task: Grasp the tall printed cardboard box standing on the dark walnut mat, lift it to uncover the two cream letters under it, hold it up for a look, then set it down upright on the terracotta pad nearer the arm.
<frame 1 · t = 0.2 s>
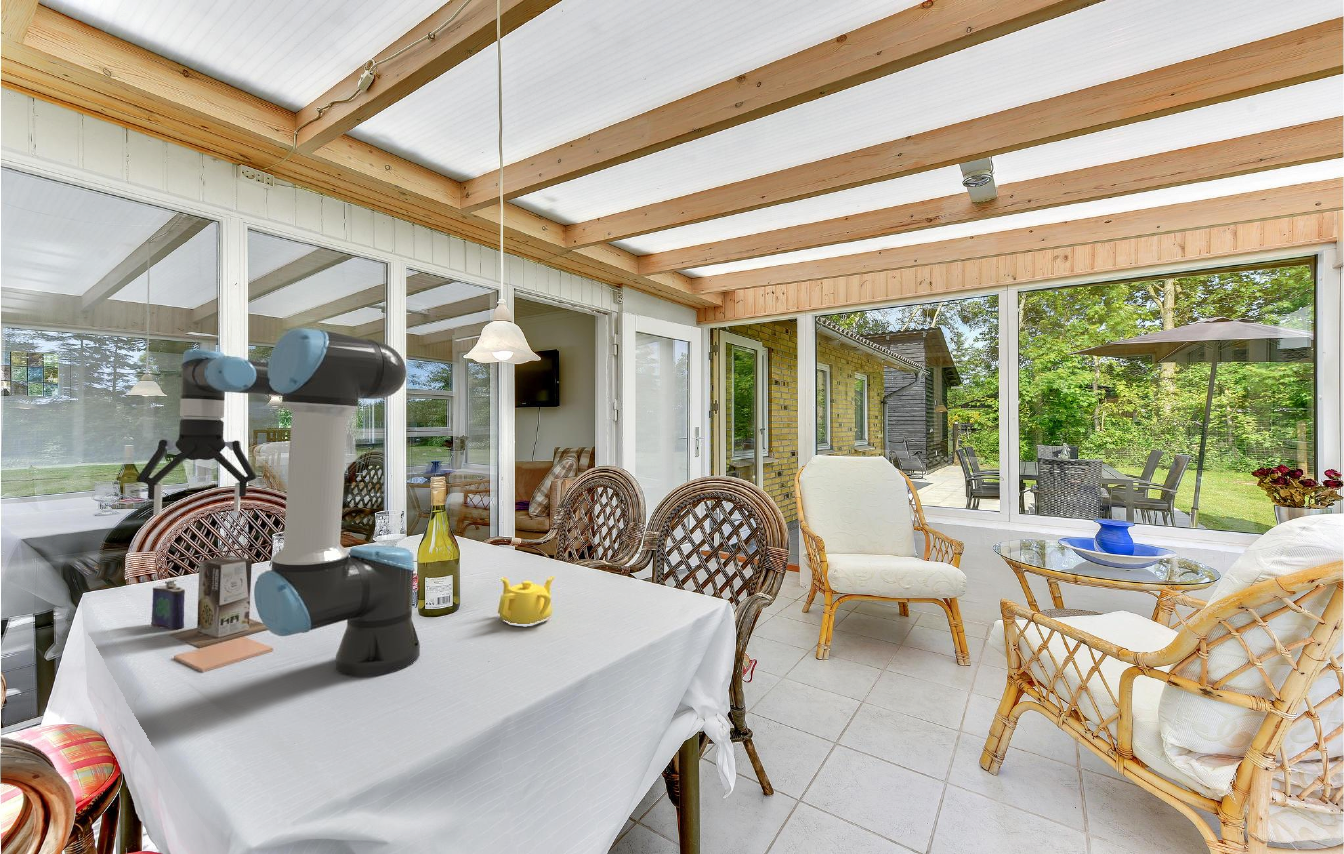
hand: (198, 512, 121), 27 cm above the table, tool pointing down, fingers open, 13 cm apart
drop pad: (224, 654, 110), on the table
code mat: (223, 631, 122), on the table
flask: (168, 627, 125), on the table
teapot: (525, 620, 136), on the table
printed cardboard box: (223, 631, 122), resting on code mat
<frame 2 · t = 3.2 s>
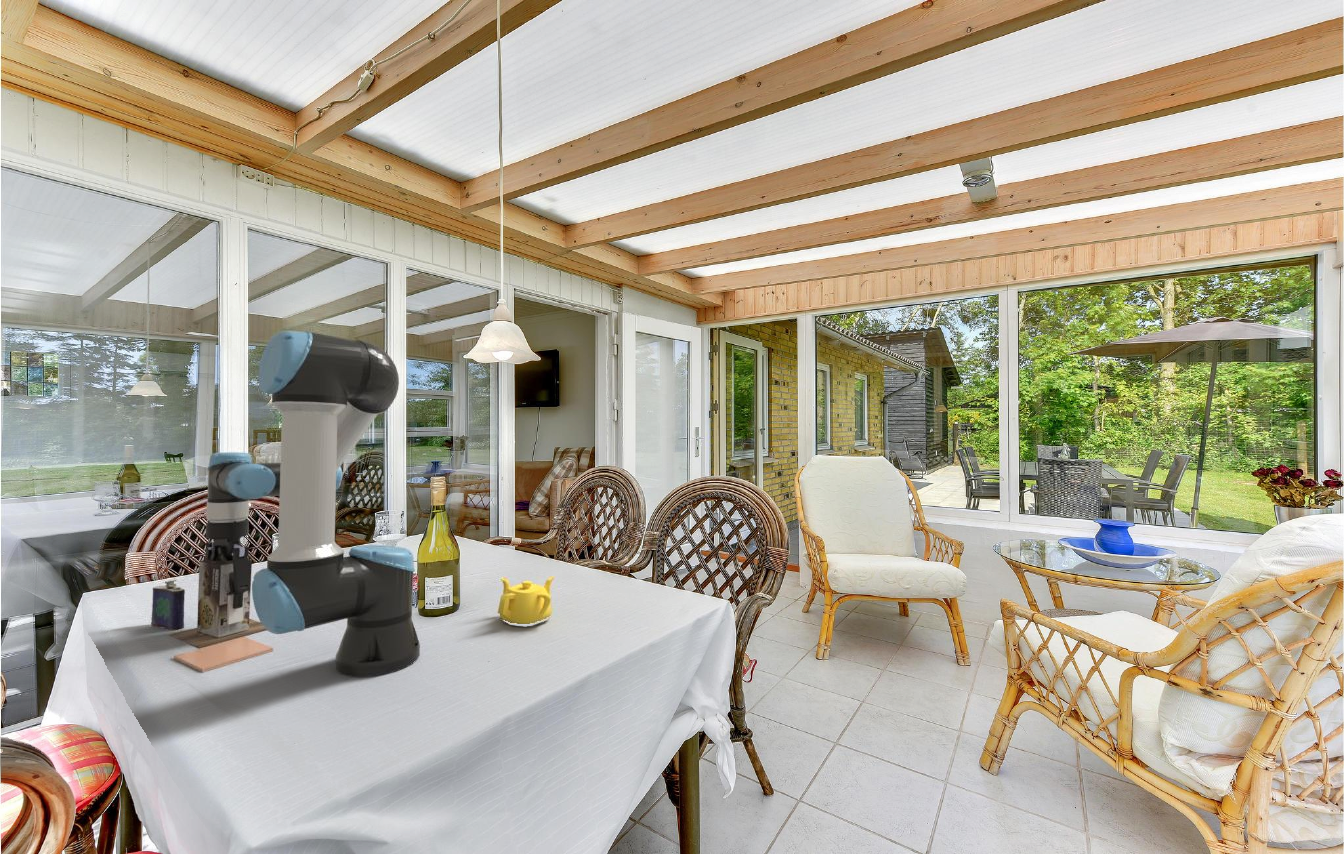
hand: (223, 618, 122), 3 cm above the table, tool pointing down, fingers closed on printed cardboard box, 9 cm apart
printed cardboard box: (223, 631, 122), resting on code mat, touching gripper
everything else where it was.
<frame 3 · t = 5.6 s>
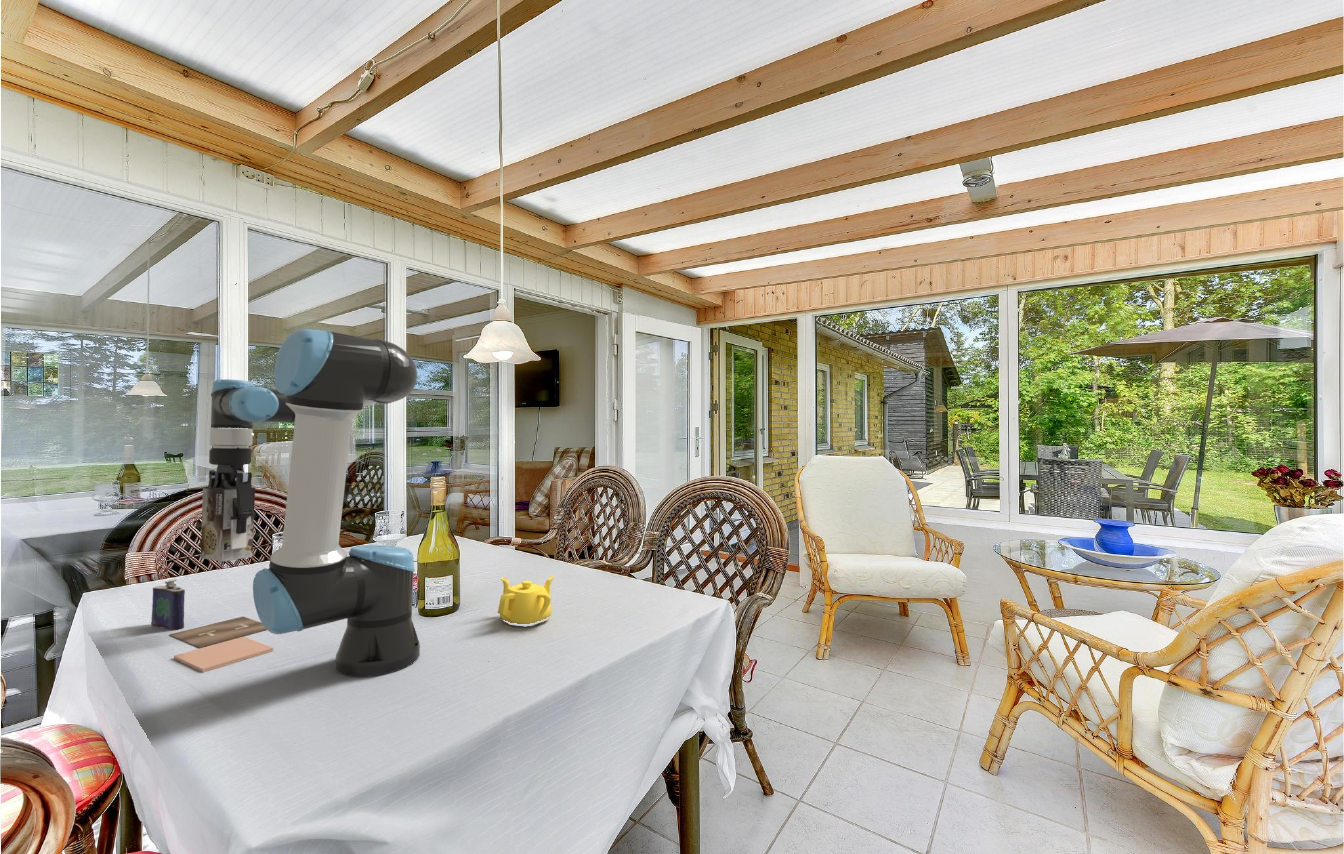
hand: (227, 545, 123), 20 cm above the table, tool pointing down, fingers closed on printed cardboard box, 9 cm apart
printed cardboard box: (226, 558, 122), point 17 cm above the table, touching gripper
everything else where it was.
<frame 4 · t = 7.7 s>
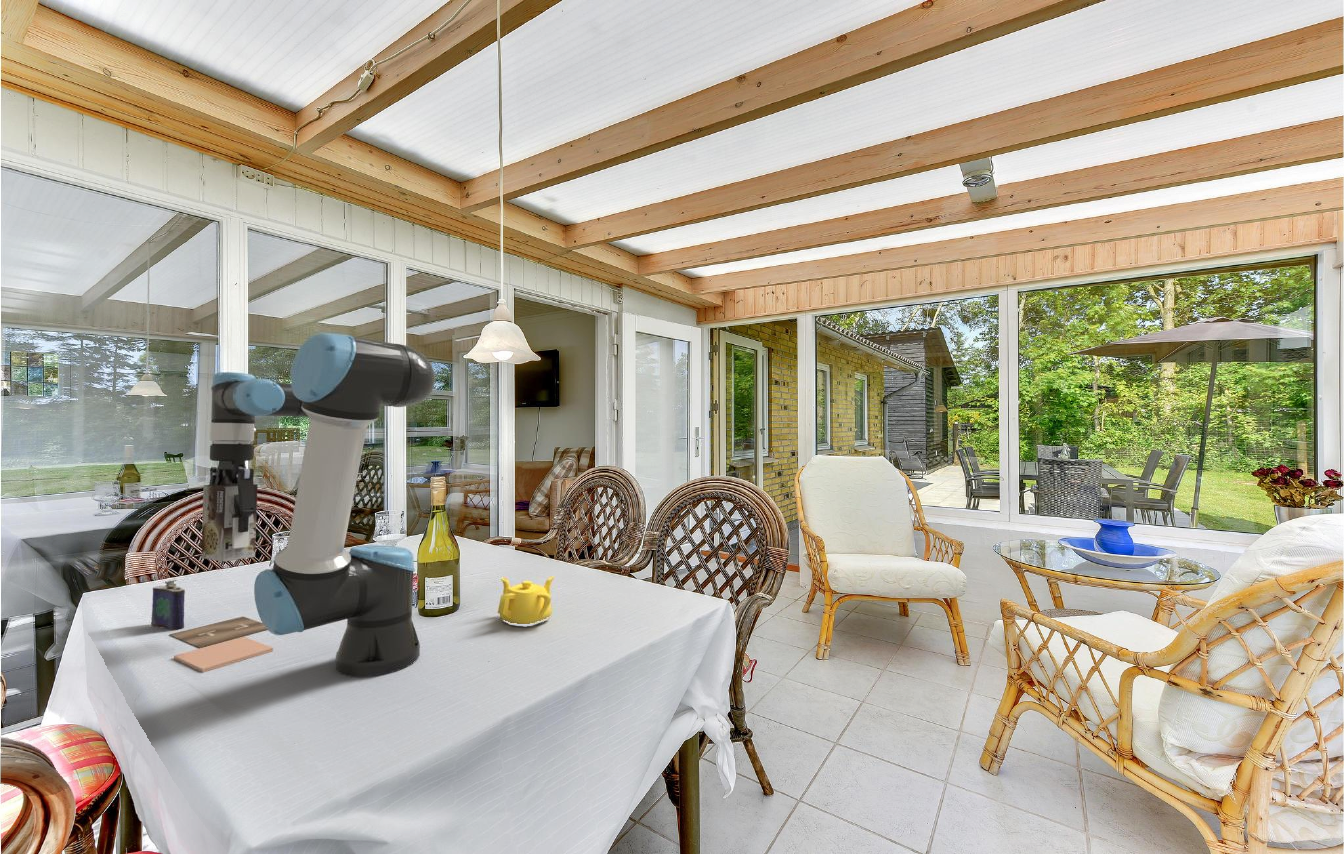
hand: (229, 544, 118), 21 cm above the table, tool pointing down, fingers closed on printed cardboard box, 9 cm apart
printed cardboard box: (228, 558, 118), point 18 cm above the table, touching gripper
everything else where it was.
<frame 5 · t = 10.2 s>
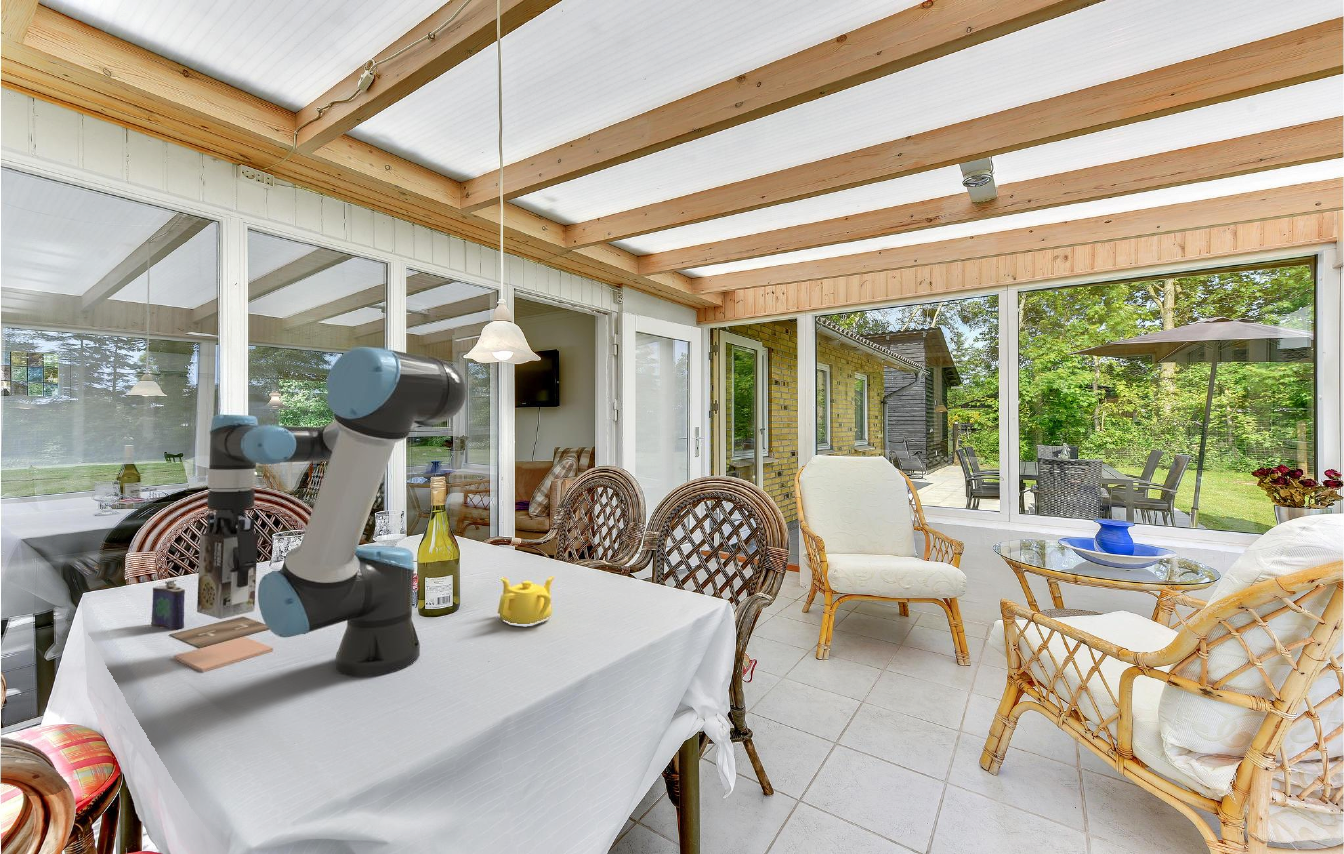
hand: (226, 598, 110), 11 cm above the table, tool pointing down, fingers closed on printed cardboard box, 9 cm apart
printed cardboard box: (225, 612, 110), point 9 cm above the table, touching gripper
everything else where it was.
when the fingers open (5 cm above the table, at t = 12.4 s): printed cardboard box drops 2 cm, resting on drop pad.
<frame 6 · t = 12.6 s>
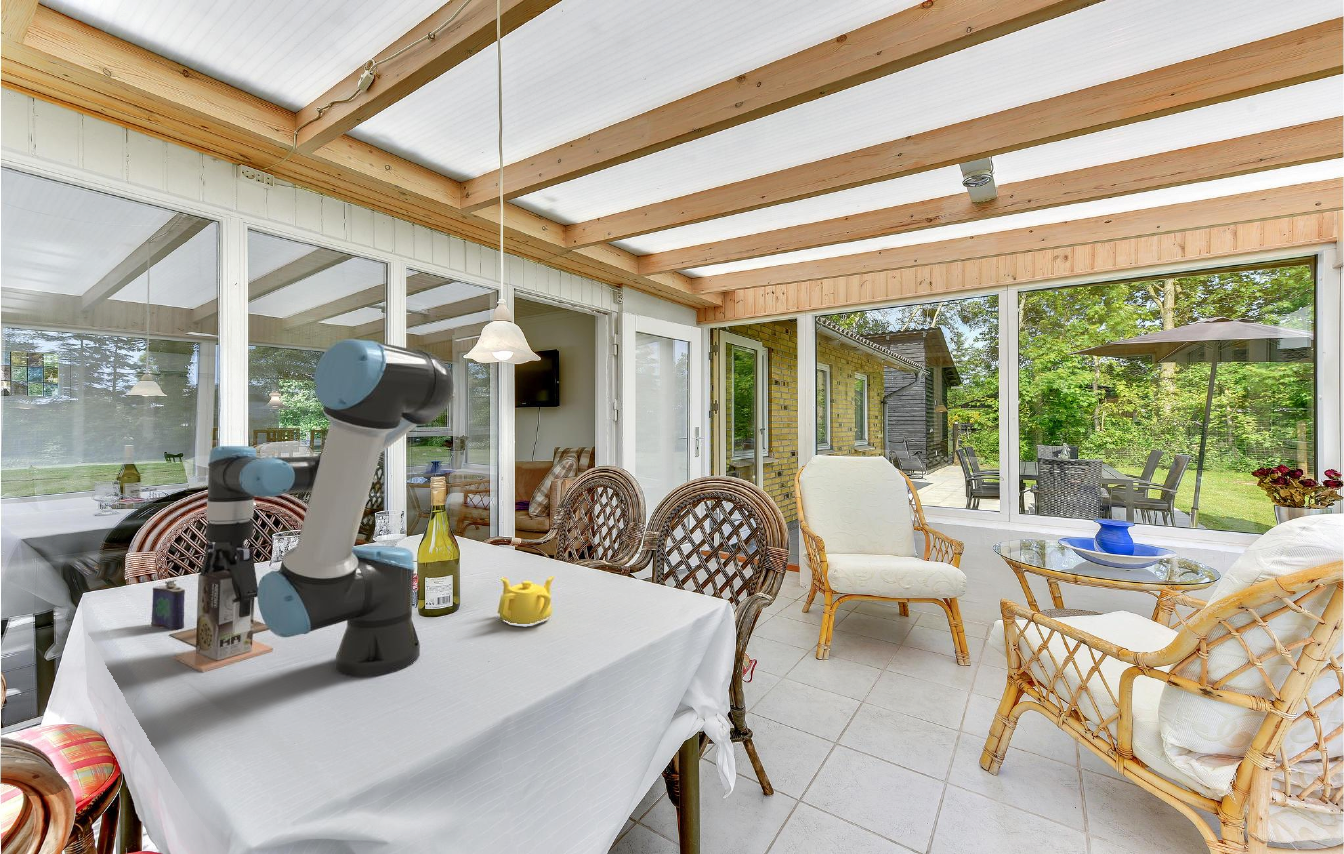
hand: (225, 626, 110), 6 cm above the table, tool pointing down, fingers open, 11 cm apart
printed cardboard box: (224, 652, 110), resting on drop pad
everything else where it was.
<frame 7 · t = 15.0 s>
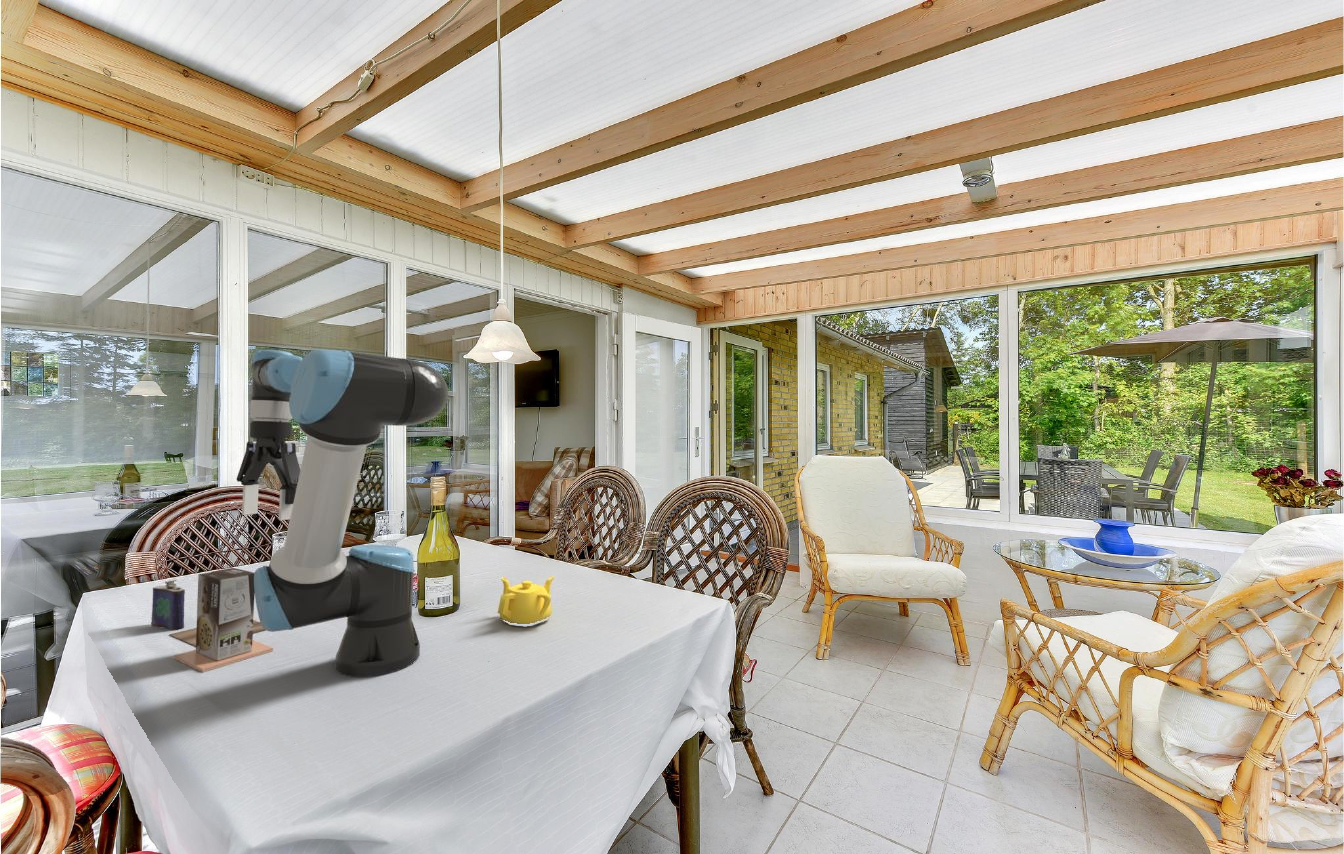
hand: (267, 516, 118), 27 cm above the table, tool pointing down, fingers open, 13 cm apart
nothing on the table moved.
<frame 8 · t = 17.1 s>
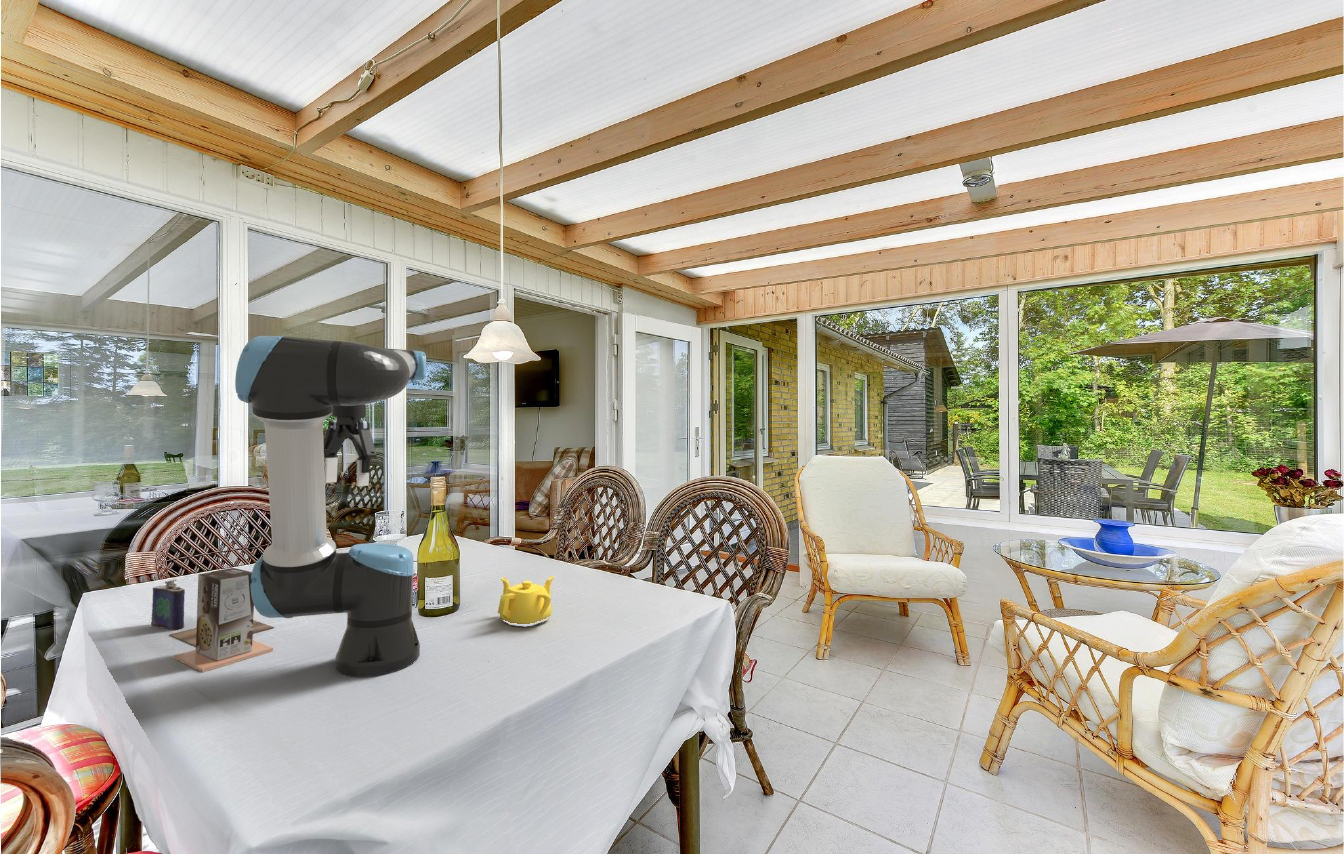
hand: (346, 484, 139), 33 cm above the table, tool pointing down, fingers open, 13 cm apart
nothing on the table moved.
at the end: printed cardboard box inside the target area on the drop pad (0.1 cm from its centre), point 0.4 cm above the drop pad's base; printed cardboard box tilted 0°; the gripper is holding nothing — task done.
